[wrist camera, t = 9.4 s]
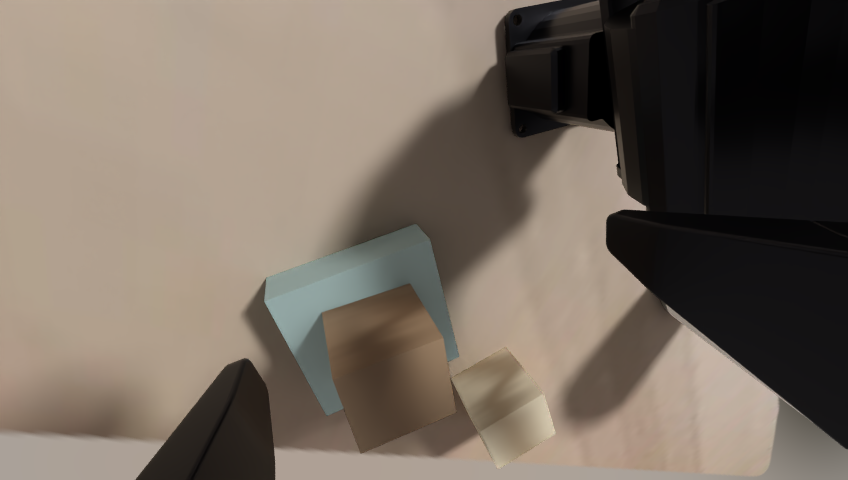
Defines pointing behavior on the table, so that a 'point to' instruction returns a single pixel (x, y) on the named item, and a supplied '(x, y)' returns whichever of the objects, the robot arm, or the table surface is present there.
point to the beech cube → (504, 406)
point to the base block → (352, 297)
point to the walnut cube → (388, 366)
